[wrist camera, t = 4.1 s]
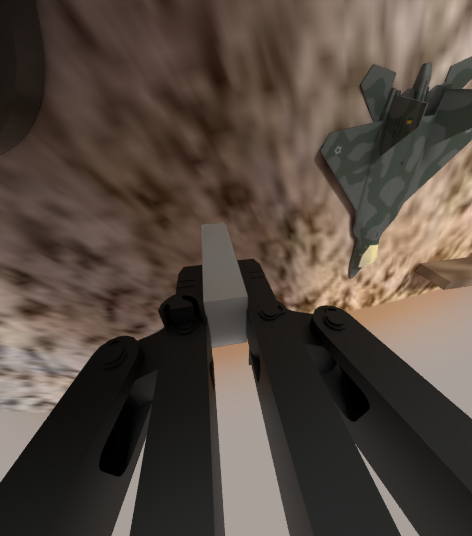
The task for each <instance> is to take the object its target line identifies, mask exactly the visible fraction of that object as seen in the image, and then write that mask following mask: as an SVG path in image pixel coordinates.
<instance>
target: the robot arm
mask: <svg viewBox="0 0 472 536" xmlns="http://www.w3.org/2000/svg"><path fill="white" fill-rule="evenodd" d="M43 86H44V53H43V44H42V36H41V30H40V25H39V19H38V15H37V10H36V6H35V2H34V0H0V155H1V154H3V153H5V152H7V151H8V150H10V149H11V148H13V147H14V146H15V145H17V144H18V143H19V142H20V141H21V140H22V139H23V138H24V137H25V135H26V134H27V133H28V131H29V130H30V128H31V127H32V125H33V123H34V121H35V119H36V117H37V114H38V111H39V108H40V104H41V100H42V94H43ZM201 232H202V265H198V266H189V267H183V269H182V270H181V271H180V273H179V274H178V281H177V282H178V283H177V289H176V295H173V296H171V297H170V298H168V299H166V300H165V301H164V302H163V303H162V304H161V306H160V308H159V310H158V312H159V314H160V317H161V319H162V322H163V324H164V326H165V327H164V328H163V329H161V330H160V331H158V332H156V333H155V334H153V335H150V336H148V337H145V338H143V339H141V340H138V341H137V340H136V339H135V338H134V337H130V336H120V337H116V338H114V339H112V340H109V341H108V342H106V343H105V344H103V345H102V346H100V347H99V348H98V350H97V351H96V352H95V353H94V354H93V355H92V356H91V358H90V359H89V361H88V362H87V363H86V365H85V366H84V367H83V369H82V370H81V372H80V373H79V374H78V376H77V377H76V379H75V380H74V381H73V383H72V384H71V385H70V387H69V388H68V390H67V391H66V392H65V394H64V395H63V396H62V398H61V399H60V401H59V402H58V403H57V405H56V406H55V408H54V409H53V410H52V412H51V413H50V414H49V416H48V417H47V419H46V420H45V421H44V423H43V424H42V426H41V427H40V428H39V430H38V431H37V432H36V434H35V435H34V437H33V438H32V439H31V441H30V442H29V444H28V445H27V446H26V448H25V449H24V450H23V452H22V453H21V455H20V456H19V458H18V459H17V460H16V461H15V463H14V464H13V466H12V467H11V468H10V470H9V471H8V473H7V474H6V475H5V477H4V478H3V480H2V481H1V482H0V536H111V535H112V532H113V529H114V526H115V524H116V521H117V518H118V515H119V512H120V510H121V506H122V503H123V501H124V498H125V495H126V492H127V489H128V487H129V484H130V481H131V478H132V475H133V473H134V470H135V467H136V464H137V461H138V458H139V456H140V453H141V450H142V447H143V444H144V441H145V439H146V443H145V448H144V454H143V461H142V466H141V472H140V478H139V484H138V489H137V495H136V501H135V507H134V513H133V519H132V525H131V530H130V536H225V528H224V513H223V498H222V484H221V469H220V453H219V439H218V423H217V409H216V395H215V378H214V363H213V357H212V348H213V347H219V346H225V345H231V344H238V343H244V342H247V339H248V344H249V365H252V370H253V374H254V379H255V383H256V387H257V392H258V396H259V401H260V405H261V409H262V414H263V419H264V423H265V427H266V431H267V436H268V440H269V445H270V450H271V454H272V458H273V463H274V467H275V472H276V476H277V481H278V485H279V489H280V494H281V499H282V503H283V507H284V512H285V516H286V520H287V525H288V530H289V534H290V536H401V535H400V533H399V531H398V529H397V527H396V525H395V523H394V521H393V519H392V517H391V515H390V513H389V511H388V509H387V507H386V505H385V503H384V501H383V499H382V497H381V495H380V493H379V491H378V489H377V487H376V485H375V483H374V481H373V479H372V477H371V475H370V473H369V471H368V469H367V467H366V465H365V463H364V461H363V459H362V457H361V455H360V453H359V451H358V449H357V447H358V448H359V450H360V451H361V452H362V454H363V455H364V457H365V458H366V460H367V461H368V462H369V464H370V465H371V467H372V468H373V470H374V471H375V472H376V474H377V475H378V477H379V478H380V480H381V481H382V483H383V484H384V485H385V487H386V488H387V490H388V491H389V493H390V494H391V495H392V497H393V498H394V500H395V501H396V503H397V504H398V505H399V507H400V508H401V509H402V511H403V513H404V514H405V515H406V517H407V518H408V520H409V521H410V522H411V524H412V526H413V527H414V528H415V530H416V531H417V533H418V534H419V535H420V536H472V419H471V418H470V417H469V416H468V415H466V414H465V413H464V412H463V411H462V410H461V409H459V408H458V407H457V406H456V405H455V404H453V403H452V402H451V401H450V400H449V399H448V398H447V397H445V396H444V395H443V394H442V393H441V392H440V391H438V390H437V389H436V388H435V387H434V386H433V385H431V384H430V383H429V382H428V381H427V380H426V379H424V378H423V377H422V376H421V375H420V374H419V373H417V372H416V371H415V370H414V369H413V368H412V367H410V366H409V365H408V364H407V363H406V362H405V361H403V360H402V359H401V358H400V357H399V356H397V355H396V354H395V353H394V352H393V351H392V350H390V349H389V348H388V347H387V346H386V345H385V344H383V343H382V342H381V341H380V340H379V339H377V338H376V337H375V336H374V335H373V334H372V333H371V332H369V331H368V330H367V329H366V328H365V327H364V326H362V325H361V324H360V323H359V322H358V321H357V320H355V319H354V318H353V317H352V316H351V315H350V314H348V313H347V312H345V311H344V310H342V309H340V308H337V307H335V306H328V305H325V306H320V307H318V308H317V309H315V311H314V313H313V314H309V313H301V312H295V311H291V310H289V309H287V308H286V307H285V306H284V305H283V304H282V303H280V302H279V301H277V300H276V298H275V296H274V294H273V292H272V289H271V287H270V285H269V283H268V281H267V279H266V278H265V274H264V272H263V270H262V268H261V266H260V264H259V263H258V262H256V261H255V260H254V259H247V260H237V259H236V256H235V252H234V249H233V246H232V242H231V239H230V236H229V232H228V229H227V226H226V223H213V224H201ZM146 436H147V437H146ZM354 442H355V443H354ZM355 444H356V445H357V447H356V445H355Z"/></svg>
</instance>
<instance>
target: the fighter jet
mask: <svg viewBox="0 0 472 536" xmlns="http://www.w3.org/2000/svg"><path fill="white" fill-rule="evenodd" d="M395 75H396V73H395V72H393V71H390V70H388V69H385V68H382V67H380V66H377V65H375V64H374V65H372V67H371V69H370V70H369V72H368V73H367V75H366V76H365V78H364V80H363V81H362V83H361V84H360V85H361V88H362V91H363V94H364V97H365V100H366V103H367V106H368V109H369V111H370V114H371V117H372V120H373V122H374V123H370V124H366V125H361V126H357V127H353V128H349V129H345V130H341V131H336V132H332V133H329V135H328V137H327V138H326V140H325V142H324V144H323V145H322V147H321V149H320V152H321V154H322V155H323V157H324V159H325V160H326V162H327V164H328V165H329V167H330V169H331V170H332V172H333V174H334V175H335V177H336V178H337V180H338V182H339V184H340V185H341V187H342V189H343V190H344V192H345V194H346V196H347V197H348V199H349V201H350V202H351V204H352V206H353V208H354V212H355V220H354V225H353V231H354V234H355V236H356V237H357V241H356V244H355V247H354V252H353V255H352V258H351V261H350V266H349V275H350V279H351V278H353V277H354V276H355V275H356V274H357V273H358V271H359V270H360V269H361V268H362V267H366V266H369V265H370V264H372V263H373V262H374V261H375V259H376V257H377V254H378V244H379V238H380V237H381V235H382V232H383V231H384V230H385V229H386V228H387V227H388V226H389V224H390V223H391V222H392V221H393V220H394V219H395V218H396V216H397V214H398V212H399V210H400V209H401V207H402V205H403V203H404V202H405V201H406V200H407V199H409V198H410V197H411V196H412V195H413V194H414V193H415V192H416V191H417V190H418V189H419V188H420V187H422V186H423V185H424V184H425V183H426V182H427V181H428V180H429V179H430V178H431V177H432V176H433V175H434V174H436V173H437V172H438V171H439V170H440V169H441V168H442V167H443V166H444V165H445V164H446V163H447V162H449V161H450V160H451V159H452V158H453V157H454V156H455V155H456V154H457V153H458V152H459V151H460V150H461V149H463V148H464V147H465V146H466V145H467V144H468V143H469V142H470V141H471V140H472V89H462V88H463V87H464V86H465V85H466V84H467V83H468V82H469V81H470V80H471V79H472V57H469V58H467V59H465V60H463V61H461V62H459V63H457V64H454V65H452V66H451V67H450V69H449V72H448V74H447V77H446V79H445V82H444V83H443V84H442V85H436V86H435V87H434V88H433V89H432V90H430V91H428V90H429V87H428V85H429V82H430V79H431V63H426V64H423V65H422V67H421V69H420V72H419V74H418V76H417V78H416V81H415V84H414V87H413V88H412V89H408V90H406V91H405V92H404V93H403V94H402V95H400V93H401V91H399V90H397V89H395V88H392V85H393V82H394V78H395Z"/></svg>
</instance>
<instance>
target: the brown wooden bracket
mask: <svg viewBox="0 0 472 536" xmlns="http://www.w3.org/2000/svg"><path fill="white" fill-rule="evenodd" d="M415 272H417V273H419V274H420V275H422V276H423V277H425V278H426V279H428V280H429V281H431V282H433V283H434V284H436V285H437V286H439V287H440V288H442V289H444V290H445V289H453V288H459V287H466V286H472V257H468V258H460V259H452V260H444V261H436V262H428V263H420V265H419V266H418V267H417V269H416V270H415Z"/></svg>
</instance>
